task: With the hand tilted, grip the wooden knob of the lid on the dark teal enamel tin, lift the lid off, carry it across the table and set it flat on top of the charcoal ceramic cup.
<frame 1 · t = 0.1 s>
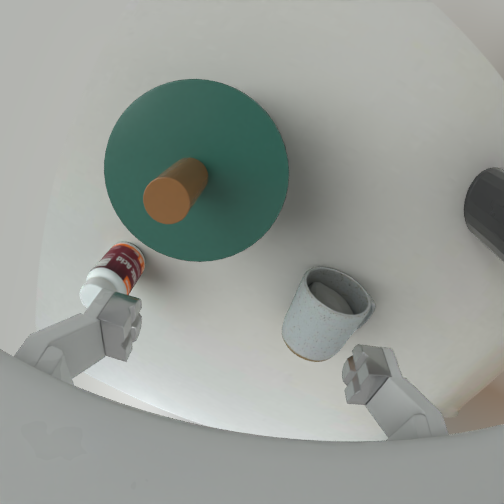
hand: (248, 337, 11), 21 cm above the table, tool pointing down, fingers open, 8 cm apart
pill bottle: (128, 257, 34), on the table
cup: (490, 203, 28), on the table
tin lid: (191, 173, 20), point 8 cm above the table, touching tin
ceramic mug: (330, 295, 35), on the table
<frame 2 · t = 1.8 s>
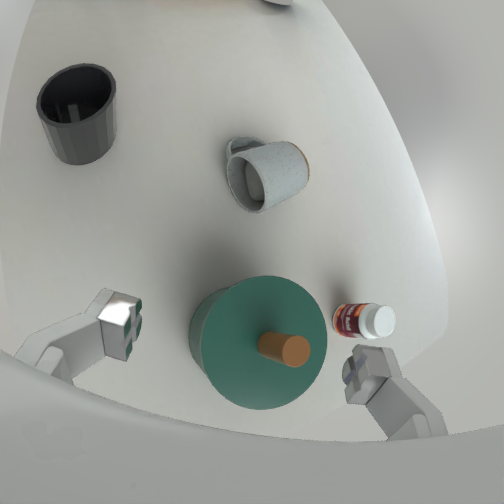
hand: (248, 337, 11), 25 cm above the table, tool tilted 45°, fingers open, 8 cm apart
pill bottle: (343, 320, 42), on the table
tin: (238, 336, 36), on the table
cup: (83, 134, 33), on the table
tin lid: (267, 344, 28), point 8 cm above the table, touching tin
ceramic mug: (250, 177, 40), on the table
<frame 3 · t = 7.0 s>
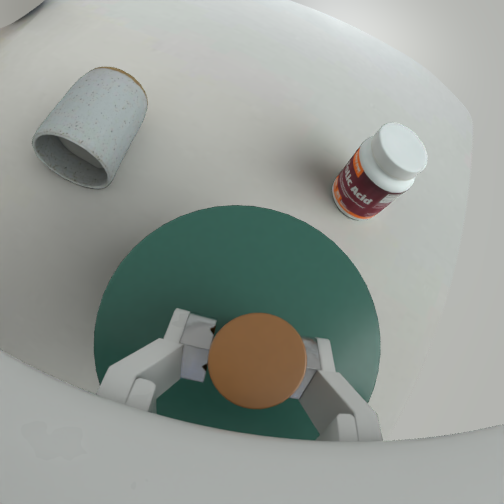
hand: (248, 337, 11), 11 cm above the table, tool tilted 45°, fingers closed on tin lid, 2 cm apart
pill bottle: (354, 197, 26), on the table
tin lid: (240, 350, 13), point 9 cm above the table, touching gripper, tin
ceramic mug: (92, 151, 24), on the table
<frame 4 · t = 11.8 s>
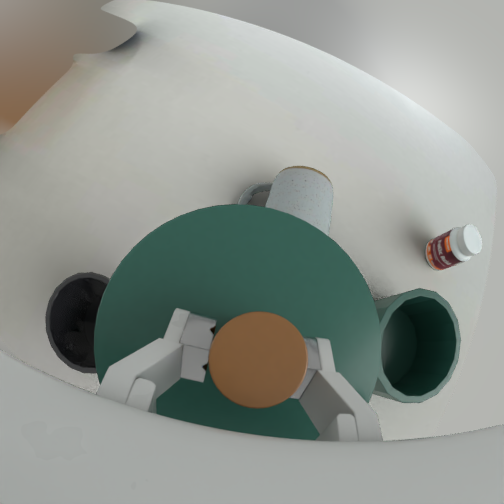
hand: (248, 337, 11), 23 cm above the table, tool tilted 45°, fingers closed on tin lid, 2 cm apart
pill bottle: (435, 255, 39), on the table
tin: (382, 346, 35), on the table
cup: (116, 326, 32), on the table
tin lid: (241, 349, 13), point 21 cm above the table, touching gripper
ceramic mug: (280, 220, 38), on the table
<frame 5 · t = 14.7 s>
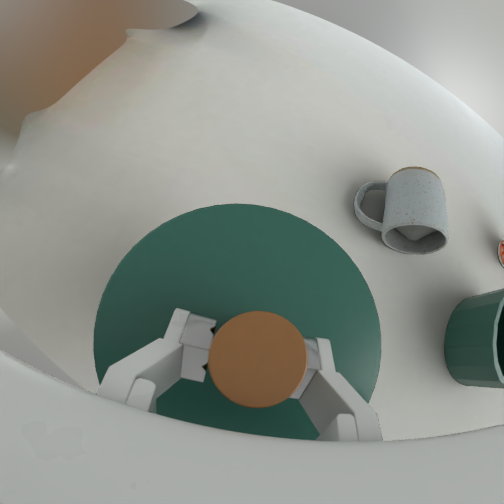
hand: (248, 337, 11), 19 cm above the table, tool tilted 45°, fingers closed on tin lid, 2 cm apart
tin: (473, 341, 31), on the table
tin lid: (241, 349, 13), point 16 cm above the table, touching gripper
ceramic mug: (389, 220, 34), on the table
when the fingers open (12 cm above the table, at t = 16.9 s): tin lid stays where it is, resting on cup.
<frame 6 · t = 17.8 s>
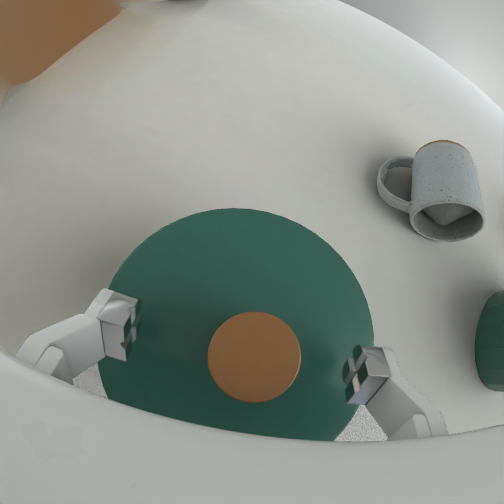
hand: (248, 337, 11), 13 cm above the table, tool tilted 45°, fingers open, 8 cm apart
tin: (503, 341, 26), on the table
tin lid: (238, 348, 13), point 10 cm above the table, touching cup
ceramic mug: (415, 203, 29), on the table
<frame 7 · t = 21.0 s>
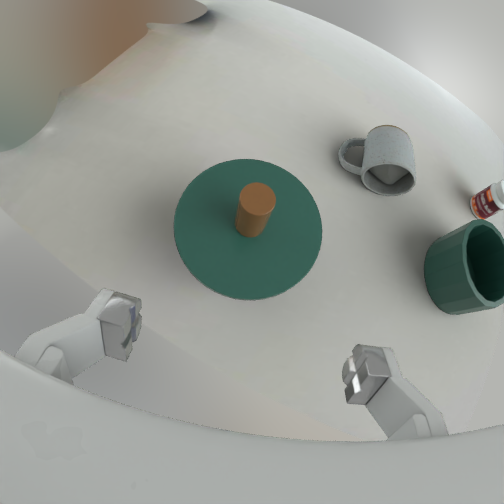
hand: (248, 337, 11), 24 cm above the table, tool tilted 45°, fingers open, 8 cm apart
pill bottle: (476, 209, 44), on the table
tin: (451, 275, 39), on the table
tin lid: (248, 225, 27), point 10 cm above the table, touching cup
ceramic mug: (368, 170, 42), on the table
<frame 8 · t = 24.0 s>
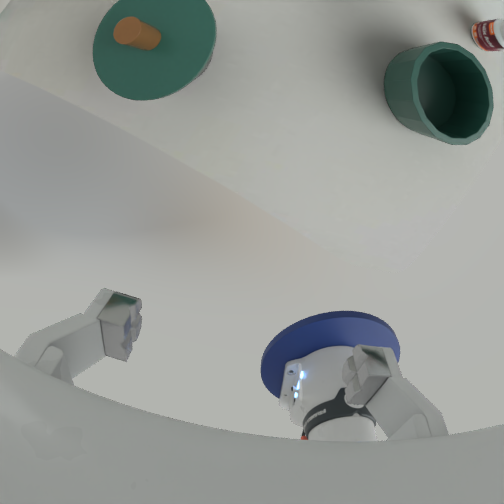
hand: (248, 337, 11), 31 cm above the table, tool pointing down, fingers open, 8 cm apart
pill bottle: (481, 37, 25), on the table
tin: (423, 91, 31), on the table
tin lid: (151, 39, 23), point 10 cm above the table, touching cup
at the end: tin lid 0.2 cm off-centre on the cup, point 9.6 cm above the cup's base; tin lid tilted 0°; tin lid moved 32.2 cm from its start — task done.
